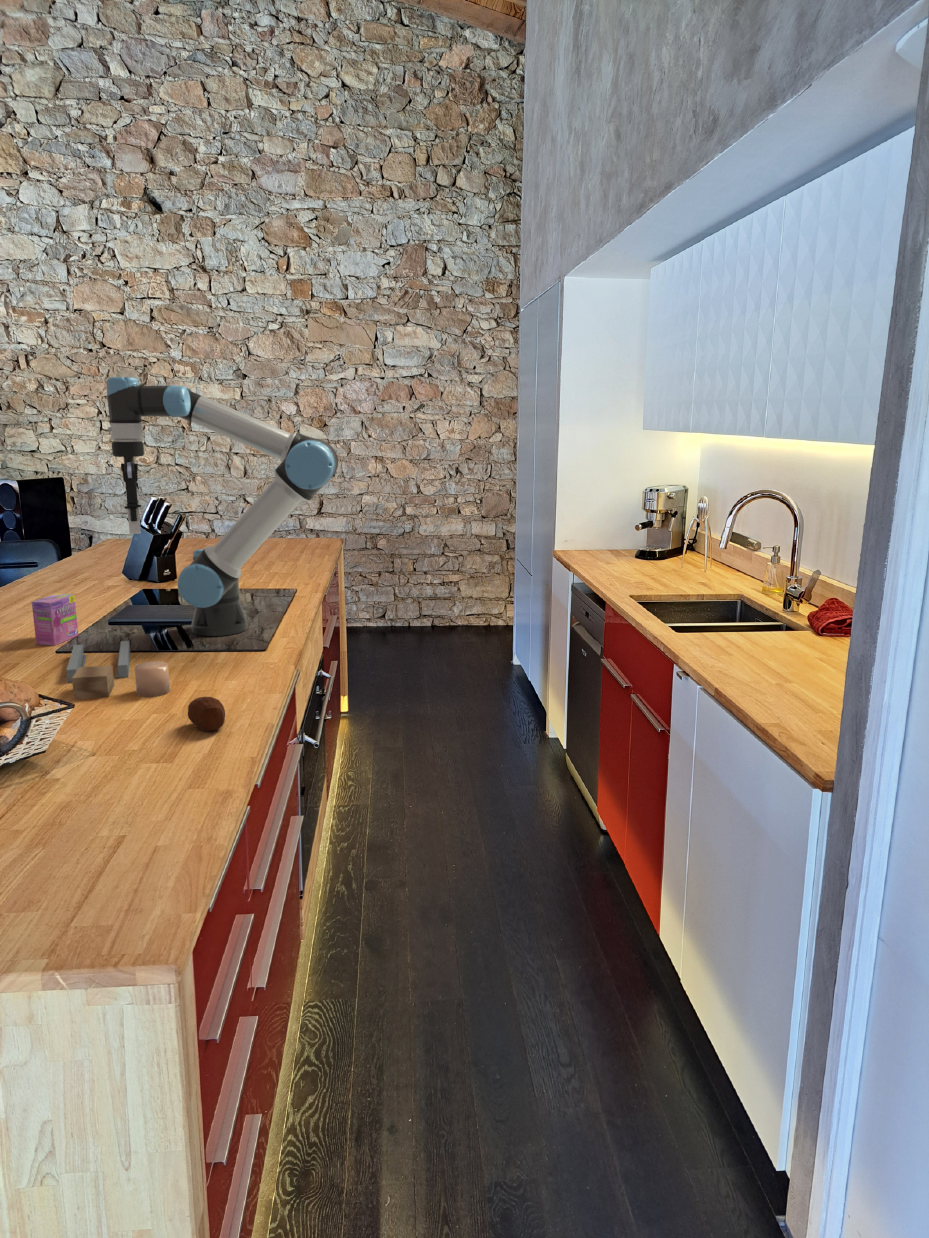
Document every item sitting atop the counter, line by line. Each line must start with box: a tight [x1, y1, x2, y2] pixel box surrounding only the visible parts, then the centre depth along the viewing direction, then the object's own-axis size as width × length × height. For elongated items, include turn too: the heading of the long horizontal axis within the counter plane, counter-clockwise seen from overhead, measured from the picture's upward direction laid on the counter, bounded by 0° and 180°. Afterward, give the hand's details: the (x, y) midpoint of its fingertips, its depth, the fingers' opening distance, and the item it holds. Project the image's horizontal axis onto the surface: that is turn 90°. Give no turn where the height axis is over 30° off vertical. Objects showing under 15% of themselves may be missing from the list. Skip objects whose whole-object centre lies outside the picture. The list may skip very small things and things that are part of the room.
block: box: [71, 665, 115, 700], centre depth 193 cm, size 7×8×5 cm
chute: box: [66, 640, 131, 684], centre depth 211 cm, size 13×22×3 cm, turn 19°
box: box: [31, 592, 79, 647], centre depth 233 cm, size 10×6×12 cm, turn 168°
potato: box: [187, 696, 226, 732], centre depth 172 cm, size 7×9×6 cm
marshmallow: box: [134, 660, 171, 698], centre depth 193 cm, size 7×7×6 cm
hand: (135, 533), depth 225 cm, fingers closed
